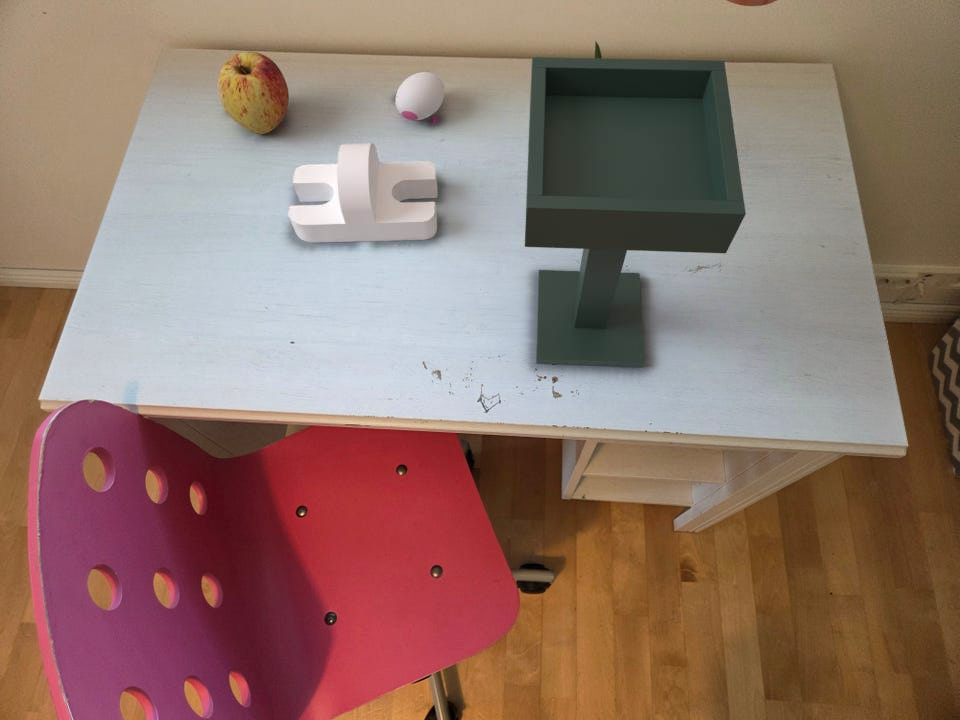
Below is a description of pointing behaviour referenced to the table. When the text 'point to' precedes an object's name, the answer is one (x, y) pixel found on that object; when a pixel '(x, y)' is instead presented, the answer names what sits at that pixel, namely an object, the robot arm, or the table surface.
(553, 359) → the green pedestal tray
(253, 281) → the table surface
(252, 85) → the apple
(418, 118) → the white oval piece
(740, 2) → the cup
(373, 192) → the slotted bracket
